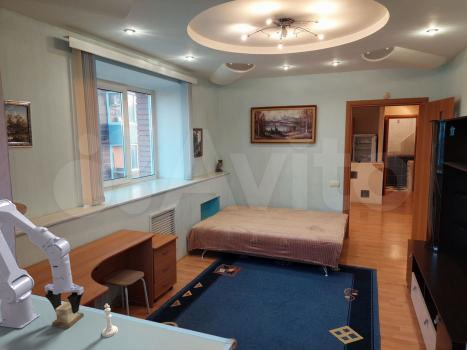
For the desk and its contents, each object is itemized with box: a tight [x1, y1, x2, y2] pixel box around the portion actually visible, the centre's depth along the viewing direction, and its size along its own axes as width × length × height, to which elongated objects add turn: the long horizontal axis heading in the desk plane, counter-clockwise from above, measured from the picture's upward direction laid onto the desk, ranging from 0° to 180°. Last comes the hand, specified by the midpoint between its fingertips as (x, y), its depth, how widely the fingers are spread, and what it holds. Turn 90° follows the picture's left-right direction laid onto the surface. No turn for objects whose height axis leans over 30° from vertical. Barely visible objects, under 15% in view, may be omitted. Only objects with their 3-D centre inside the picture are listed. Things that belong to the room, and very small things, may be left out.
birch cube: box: [55, 301, 77, 322], centre depth 111 cm, size 4×4×4 cm
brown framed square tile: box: [51, 311, 85, 329], centre depth 112 cm, size 7×7×1 cm
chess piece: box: [101, 303, 119, 338], centre depth 103 cm, size 5×5×10 cm
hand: (67, 311), depth 111 cm, fingers open, 7 cm apart
